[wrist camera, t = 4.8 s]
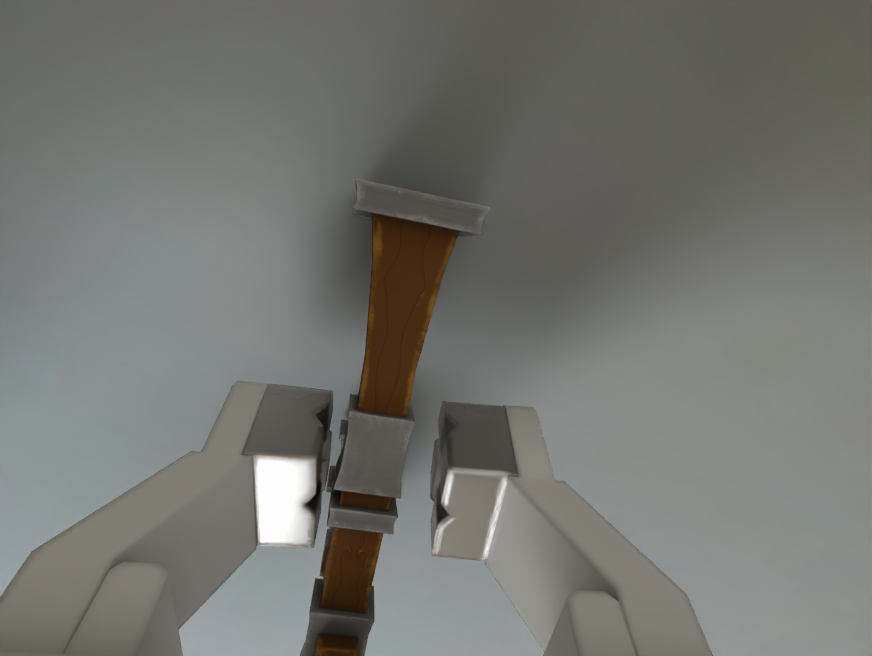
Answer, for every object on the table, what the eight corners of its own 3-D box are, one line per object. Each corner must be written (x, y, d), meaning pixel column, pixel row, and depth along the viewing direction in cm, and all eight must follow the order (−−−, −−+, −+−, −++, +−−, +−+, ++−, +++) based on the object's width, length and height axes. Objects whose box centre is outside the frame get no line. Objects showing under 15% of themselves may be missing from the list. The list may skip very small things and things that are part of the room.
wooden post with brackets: (291, 573, 12) (253, 756, 8) (356, 202, 11) (354, 175, 7) (374, 582, 13) (381, 763, 8) (444, 220, 12) (495, 205, 7)
